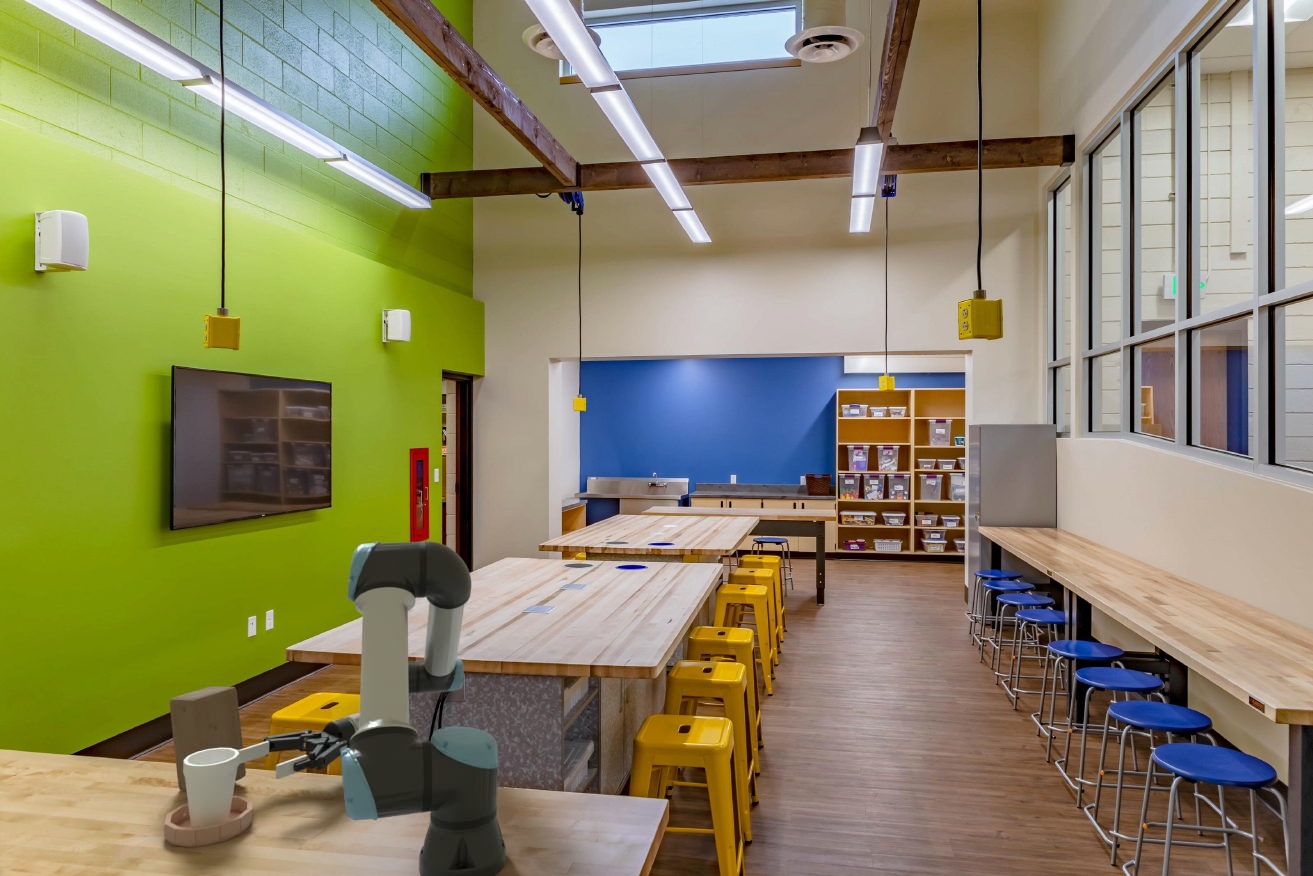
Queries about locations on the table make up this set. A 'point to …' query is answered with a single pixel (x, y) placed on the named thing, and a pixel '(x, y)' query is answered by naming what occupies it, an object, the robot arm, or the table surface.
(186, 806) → the bowl
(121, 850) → the table surface
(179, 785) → the wooden block
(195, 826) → the foam cup
